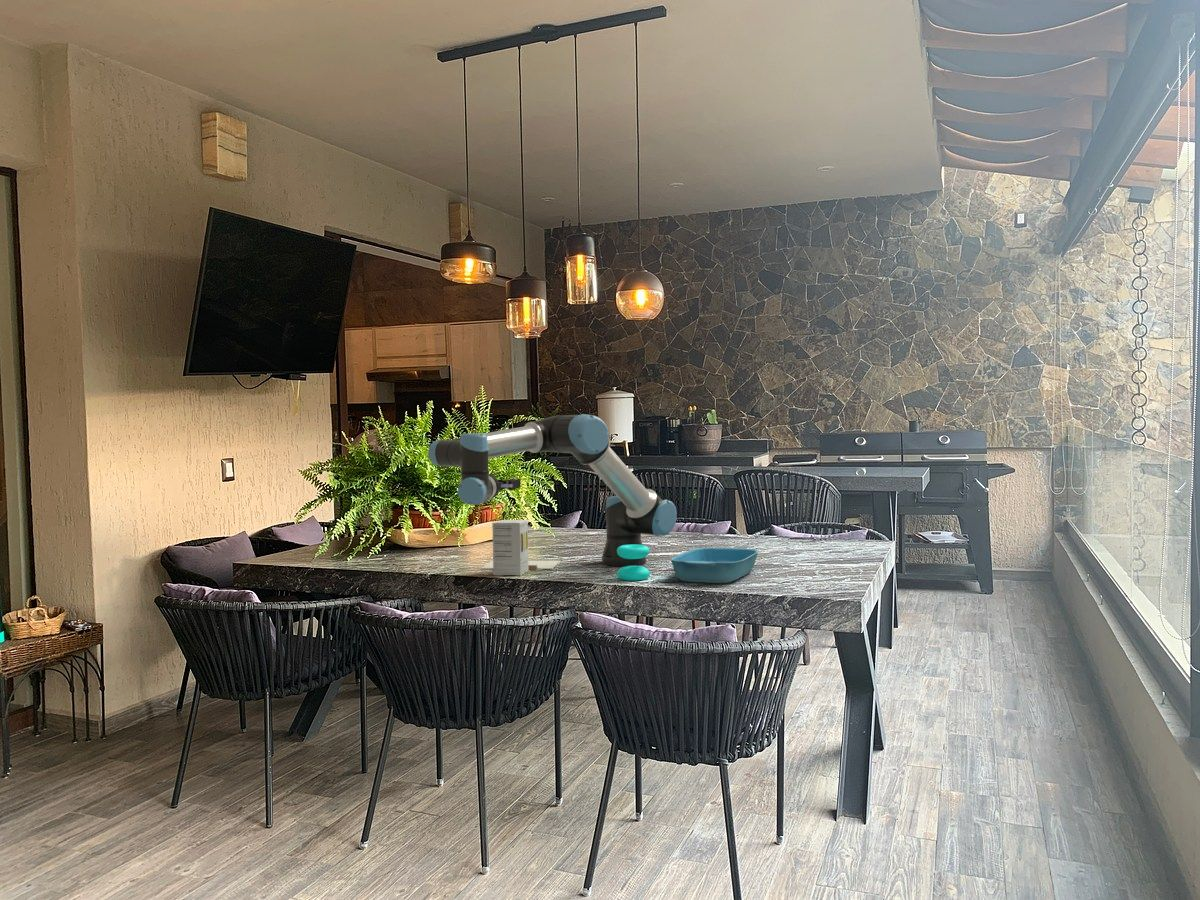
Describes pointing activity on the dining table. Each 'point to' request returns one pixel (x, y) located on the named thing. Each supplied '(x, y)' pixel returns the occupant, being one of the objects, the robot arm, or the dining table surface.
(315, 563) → the dining table surface
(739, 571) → the casserole dish
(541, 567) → the mat
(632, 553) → the donuts
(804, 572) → the dining table surface
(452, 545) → the dining table surface
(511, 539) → the supplement box
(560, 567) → the dining table surface
